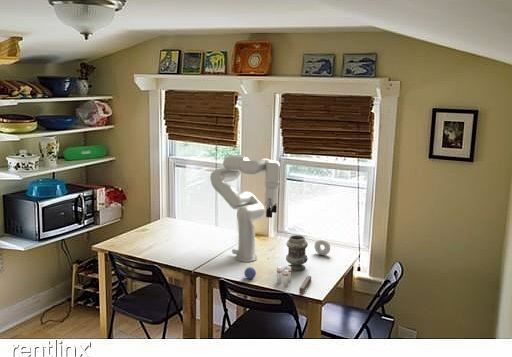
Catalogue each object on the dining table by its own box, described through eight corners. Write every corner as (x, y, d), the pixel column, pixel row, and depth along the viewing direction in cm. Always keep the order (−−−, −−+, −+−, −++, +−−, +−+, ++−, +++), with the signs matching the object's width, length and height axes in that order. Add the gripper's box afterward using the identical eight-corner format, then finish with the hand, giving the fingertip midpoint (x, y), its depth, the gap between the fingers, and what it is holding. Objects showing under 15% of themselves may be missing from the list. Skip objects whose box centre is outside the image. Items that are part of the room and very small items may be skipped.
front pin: (276, 283, 254) (276, 268, 252) (277, 281, 256) (277, 266, 255) (280, 284, 253) (281, 268, 251) (282, 282, 256) (282, 267, 254)
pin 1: (282, 286, 250) (283, 271, 249) (284, 284, 253) (284, 269, 251) (287, 287, 250) (287, 272, 248) (288, 285, 252) (289, 270, 250)
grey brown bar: (299, 293, 243) (299, 287, 243) (307, 281, 258) (307, 275, 257) (303, 294, 242) (303, 288, 242) (311, 281, 257) (311, 276, 257)
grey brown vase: (293, 262, 283) (294, 232, 279) (311, 267, 276) (312, 236, 272) (281, 268, 274) (282, 237, 270) (299, 274, 267) (300, 242, 263)
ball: (242, 279, 258) (242, 268, 257) (246, 275, 264) (246, 264, 263) (253, 281, 256) (253, 270, 255) (257, 277, 262) (257, 266, 261)
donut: (330, 255, 294) (331, 239, 292) (328, 257, 291) (329, 241, 289) (315, 252, 299) (316, 236, 297) (313, 254, 296) (313, 238, 294)
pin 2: (285, 283, 255) (285, 267, 253) (286, 281, 257) (287, 265, 255) (290, 283, 254) (290, 268, 252) (291, 281, 256) (291, 266, 255)
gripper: (269, 180, 274) (268, 210, 277) (261, 187, 257) (260, 218, 261) (282, 181, 272) (281, 211, 275) (275, 188, 255) (274, 220, 259)
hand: (271, 214), depth 268 cm, fingers open, 9 cm apart
